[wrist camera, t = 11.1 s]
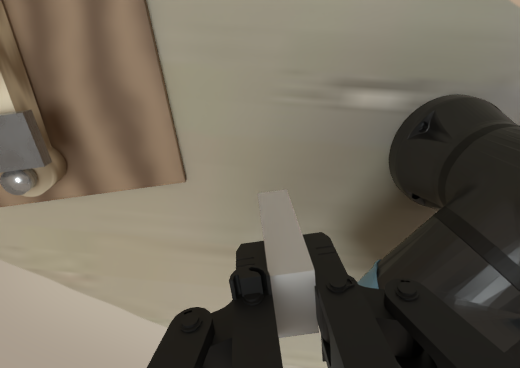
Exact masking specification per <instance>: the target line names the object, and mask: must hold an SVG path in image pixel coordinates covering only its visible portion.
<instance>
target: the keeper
mask: <svg viewBox="0 0 520 368" xmlns="http://www.w3.org/2000/svg"><path fill="white" fill-rule="evenodd" d="M51 162H52V160H51V157H50V155H49V152H48V150H47V147H46V145H45V142H44V140H43V137H42V135H41V132H40V130H39V127H38V125H37V122H36V120H35V117H34V115H33V112H32V110H25V111H17V112H9V113H1V114H0V173H1V172H9V171H16V170H24V169H31V168H39V167H45V166H47V165H48V164H50V163H51Z"/></svg>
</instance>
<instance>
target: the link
mask: <svg viewBox="0 0 520 368" xmlns="http://www.w3.org/2000/svg"><path fill="white" fill-rule="evenodd" d="M25 110H32V112H33V115H34V117H35V120H36V122H37V125H38V127H39V130H40V132H41V135H42V137H43V140H44V142H45V145H46V147H47V150H48V152H49V155H50V157H51V160H52V162H51V163H50V164H48V165H47V166H45V167H39V168H31V169H32V170H33V171H34V172H35V174H36V175H37V180H38V181H37V184H36V186H35V187H33V188H32V189H30V190H29V191H28V192H26V193H25V194H23V195H22V196H26V197H35V196H39V195H41V194H43V193H44V192H45V191H47V190H48V189H49V188H51V187H52V186H53V185H54V184H56V183H57V182H58V181H59V180H61V179H62V178H63V177H64V175H65V173H66V162H65V159H64V158H63V156H62V155H61V154H60V153H59V152H58V151H57V150H56V149H54V148H53V147H52V146H51V144H50V141H49V138H48V135H47V132H46V129H45V126H44V123H43V120H42V117H41V114H40V112H39V109H38V106H37V103H36V100H35V97H34V94H33V91H32V88H31V85H30V83H29V80H28V77H27V74H26V71H25V68H24V65H23V62H22V59H21V56H20V54H19V51H18V48H17V45H16V42H15V39H14V36H13V33H12V30H11V27H10V25H9V22H8V19H7V16H6V13H5V10H4V7H3V4H2V1H1V0H0V114H1V113H9V112H17V111H25ZM3 173H4V172H1V173H0V174H1V175H2V174H3Z"/></svg>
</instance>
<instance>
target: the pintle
mask: <svg viewBox="0 0 520 368" xmlns="http://www.w3.org/2000/svg"><path fill="white" fill-rule="evenodd" d="M37 181H38V180H37V175H36V174H35V172H34V171H33V170H32V169H24V170H16V171H9V172H4V173H3V174H2V175H1V177H0V183H1V186H2V187H3V189H4V190H6V191H7V192H8V193H10V194H13V195H23V194H25V193H26V192H28V191H29V190H30V189H32V188H33V187H35V186H36V184H37Z"/></svg>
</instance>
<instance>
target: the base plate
mask: <svg viewBox="0 0 520 368" xmlns="http://www.w3.org/2000/svg"><path fill="white" fill-rule="evenodd" d="M1 1H2V4H3V7H4V10H5V13H6V16H7V19H8V22H9V25H10V27H11V30H12V33H13V36H14V39H15V42H16V45H17V48H18V51H19V54H20V56H21V59H22V62H23V65H24V68H25V71H26V74H27V77H28V80H29V83H30V85H31V88H32V91H33V94H34V97H35V100H36V103H37V106H38V109H39V112H40V114H41V117H42V120H43V123H44V126H45V129H46V132H47V135H48V138H49V141H50V144H51V146H52V147H53V148H54V149H56V150H57V151H58V152H59V153H60V154H61V155H62V156H63V158H64V159H65V162H66V173H65V175H64V177H63V178H62V179H61V180H59V181H58V182H57V183H56V184H54V185H53V186H52V187H51V188H49V189H48V190H47V191H45V192H44V193H43V194H41V195H39V196H35V197H26V196H22V195H13V194H10V193H8V192H7V191H6V190H4V189H3V187H2V186H1V183H0V207H5V206H13V205H20V204H27V203H35V202H42V201H49V200H57V199H64V198H71V197H79V196H86V195H93V194H101V193H108V192H116V191H123V190H130V189H138V188H145V187H152V186H160V185H167V184H174V183H182V182H185V181H186V176H185V171H184V167H183V163H182V158H181V154H180V149H179V145H178V140H177V136H176V131H175V127H174V123H173V118H172V114H171V109H170V105H169V100H168V96H167V91H166V87H165V83H164V78H163V74H162V69H161V65H160V60H159V56H158V51H157V47H156V43H155V38H154V34H153V29H152V25H151V20H150V16H149V11H148V7H147V3H146V0H1ZM0 177H1V174H0Z"/></svg>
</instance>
